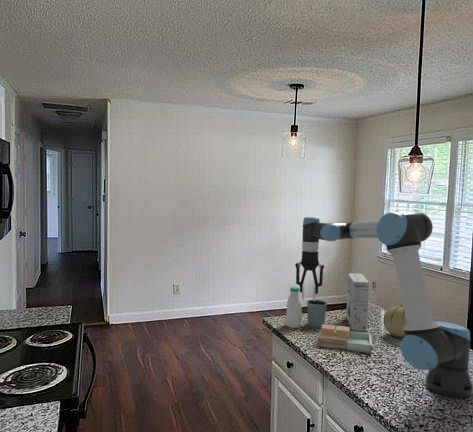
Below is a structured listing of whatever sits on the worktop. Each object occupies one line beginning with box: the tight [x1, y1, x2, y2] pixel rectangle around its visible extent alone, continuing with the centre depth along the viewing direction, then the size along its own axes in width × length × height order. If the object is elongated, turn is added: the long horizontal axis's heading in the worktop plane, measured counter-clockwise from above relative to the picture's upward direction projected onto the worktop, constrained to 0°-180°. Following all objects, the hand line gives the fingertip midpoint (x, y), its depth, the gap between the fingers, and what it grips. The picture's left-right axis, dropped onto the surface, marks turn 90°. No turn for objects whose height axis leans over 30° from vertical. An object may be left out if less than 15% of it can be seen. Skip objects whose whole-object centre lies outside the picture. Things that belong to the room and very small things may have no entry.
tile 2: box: [335, 325, 351, 339], centre depth 191 cm, size 6×6×3 cm
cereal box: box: [345, 272, 370, 332], centre depth 219 cm, size 22×8×25 cm, turn 172°
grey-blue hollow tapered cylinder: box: [306, 299, 328, 328], centre depth 217 cm, size 10×10×12 cm
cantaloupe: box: [382, 304, 407, 338], centre depth 202 cm, size 15×15×15 cm
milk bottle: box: [285, 286, 303, 329], centre depth 214 cm, size 8×8×20 cm
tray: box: [346, 330, 373, 354], centre depth 189 cm, size 16×10×4 cm, turn 164°
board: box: [318, 328, 348, 350], centre depth 192 cm, size 14×12×4 cm
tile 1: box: [320, 323, 337, 336], centre depth 193 cm, size 6×6×3 cm
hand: (308, 299), depth 195 cm, fingers open, 4 cm apart
